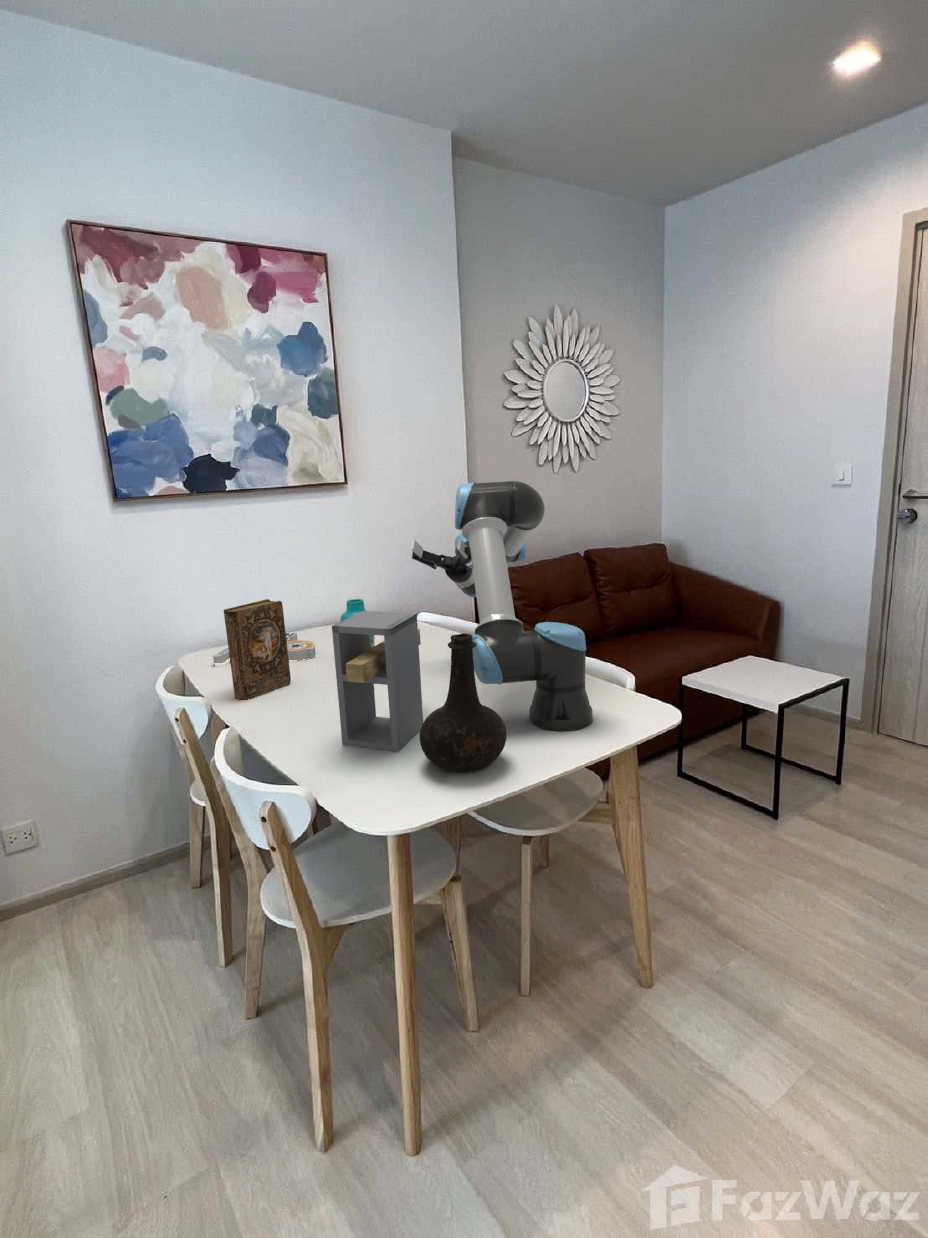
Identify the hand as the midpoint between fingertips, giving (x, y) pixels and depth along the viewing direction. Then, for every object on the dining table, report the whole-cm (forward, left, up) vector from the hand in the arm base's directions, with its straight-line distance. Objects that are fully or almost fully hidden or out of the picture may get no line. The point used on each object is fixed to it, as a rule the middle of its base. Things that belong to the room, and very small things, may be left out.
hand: (435, 544), depth 180 cm
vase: (+39, +4, -40) cm, 56 cm away
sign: (+63, +22, -40) cm, 78 cm away
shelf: (-20, +31, -40) cm, 54 cm away
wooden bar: (-18, +28, -23) cm, 40 cm away
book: (+31, +40, -40) cm, 65 cm away
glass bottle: (-44, +26, -40) cm, 65 cm away
